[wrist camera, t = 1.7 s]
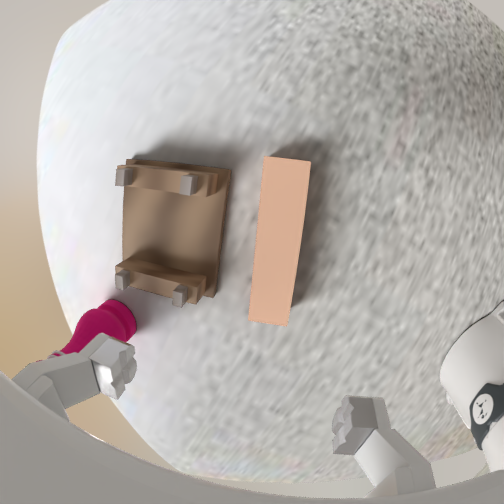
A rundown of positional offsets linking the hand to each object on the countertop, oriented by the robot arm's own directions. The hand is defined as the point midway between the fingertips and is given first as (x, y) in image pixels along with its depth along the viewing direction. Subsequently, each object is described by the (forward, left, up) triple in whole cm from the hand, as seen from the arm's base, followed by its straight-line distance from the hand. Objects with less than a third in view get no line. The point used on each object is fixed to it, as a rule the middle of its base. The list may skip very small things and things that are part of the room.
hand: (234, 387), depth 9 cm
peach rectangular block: (0, 0, -21) cm, 21 cm away
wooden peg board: (+12, +1, -21) cm, 24 cm away
